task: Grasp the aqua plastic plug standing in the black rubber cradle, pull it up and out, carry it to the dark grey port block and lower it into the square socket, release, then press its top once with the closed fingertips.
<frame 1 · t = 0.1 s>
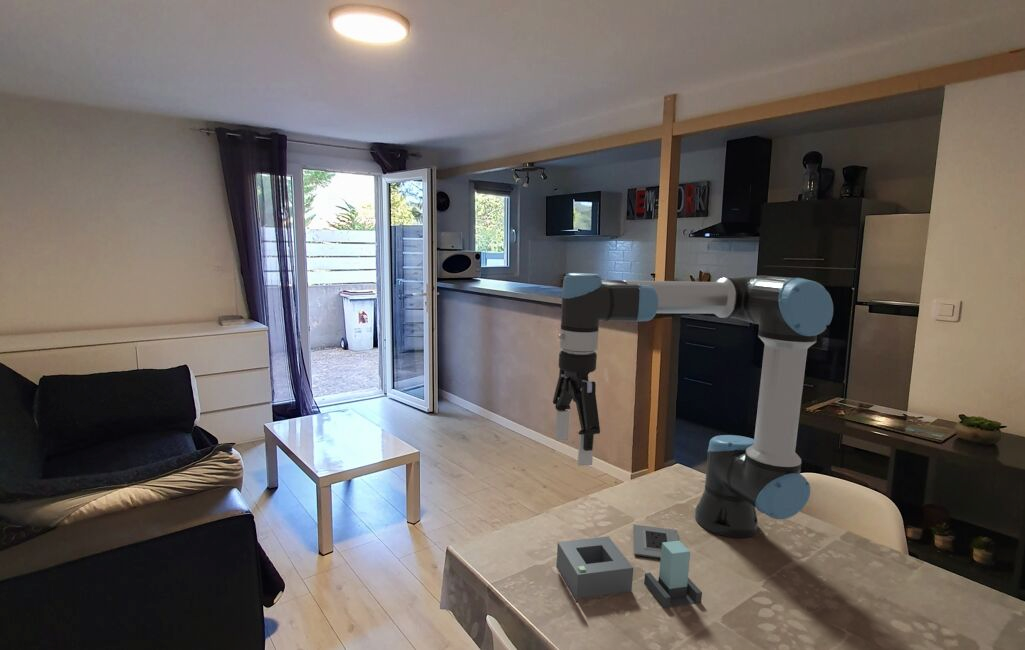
hand: (572, 451, 111), 28 cm above the table, fingers open, 13 cm apart
port block: (592, 580, 114), on the table
electrical outlet: (655, 549, 127), on the table
holster: (671, 596, 109), on the table
plug: (671, 592, 109), point 1 cm above the table, touching holster
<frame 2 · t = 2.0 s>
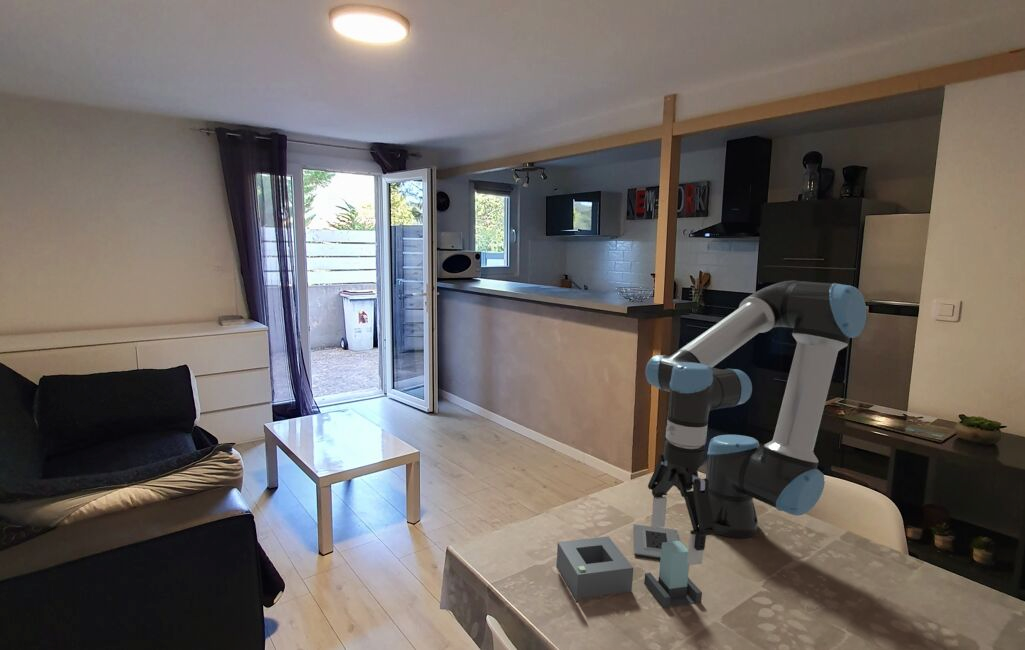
hand: (674, 544, 107), 12 cm above the table, fingers open, 13 cm apart
nothing on the table moved.
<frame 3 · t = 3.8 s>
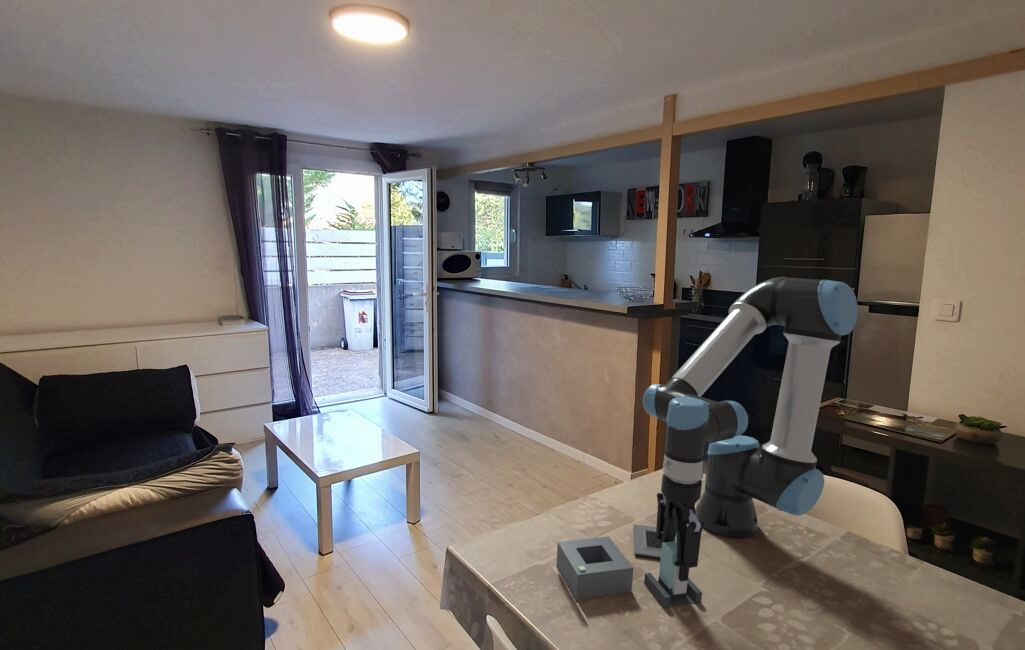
hand: (672, 584, 109), 2 cm above the table, fingers closed on plug, 4 cm apart
plug: (672, 592, 109), point 1 cm above the table, touching gripper, holster
everything else where it was.
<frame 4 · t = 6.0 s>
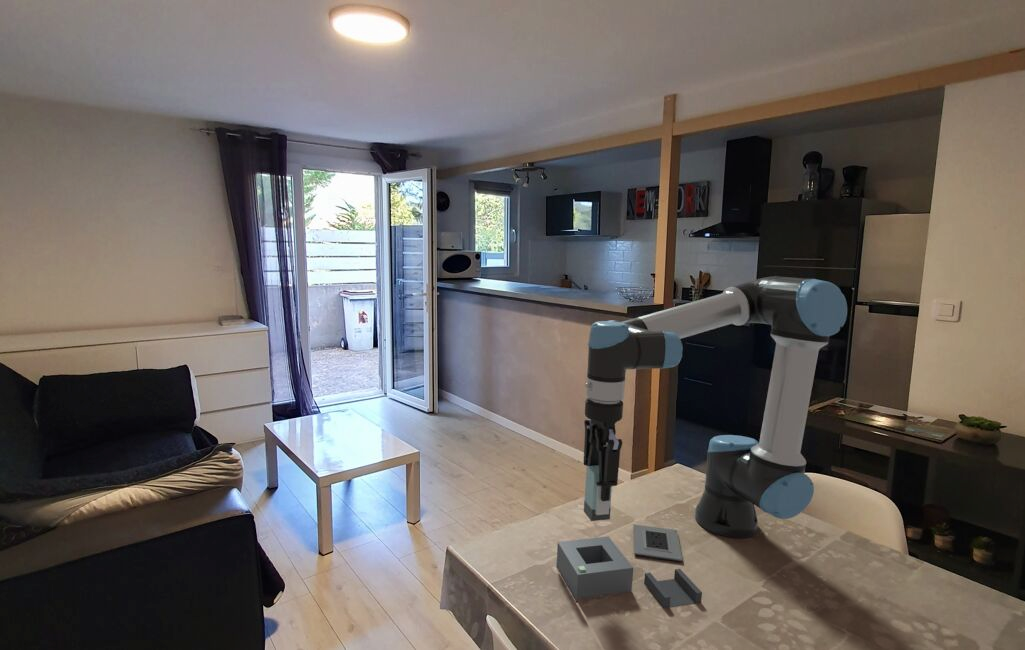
hand: (597, 507, 111), 16 cm above the table, fingers closed on plug, 4 cm apart
plug: (596, 515, 111), point 15 cm above the table, touching gripper
everything else where it was.
when the fingers open (7 cm above the table, at t = 8.2 s): plug drops 5 cm, resting on port block.
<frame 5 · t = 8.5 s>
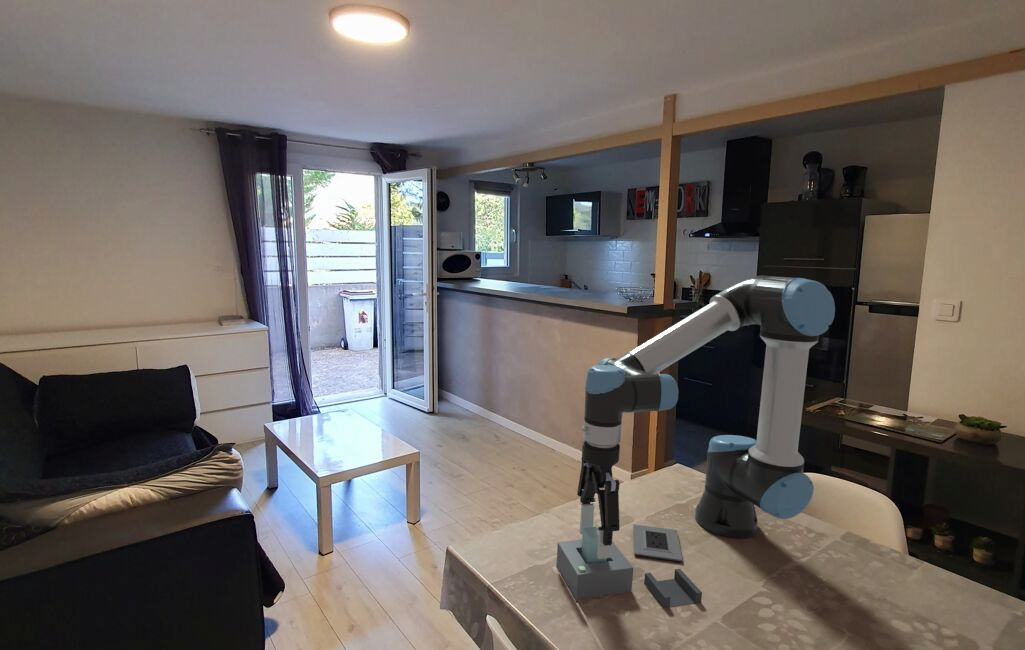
hand: (594, 544, 112), 8 cm above the table, fingers open, 9 cm apart
plug: (592, 576, 113), point 1 cm above the table, touching port block
everything else where it was.
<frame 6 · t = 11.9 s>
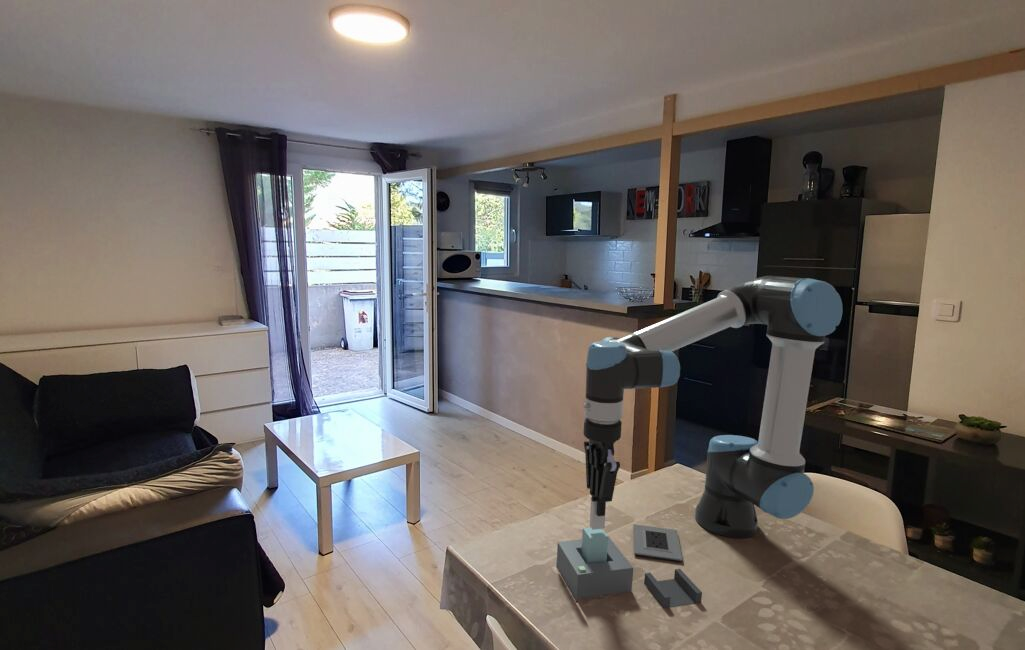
hand: (597, 527, 112), 12 cm above the table, fingers closed
nothing on the table moved.
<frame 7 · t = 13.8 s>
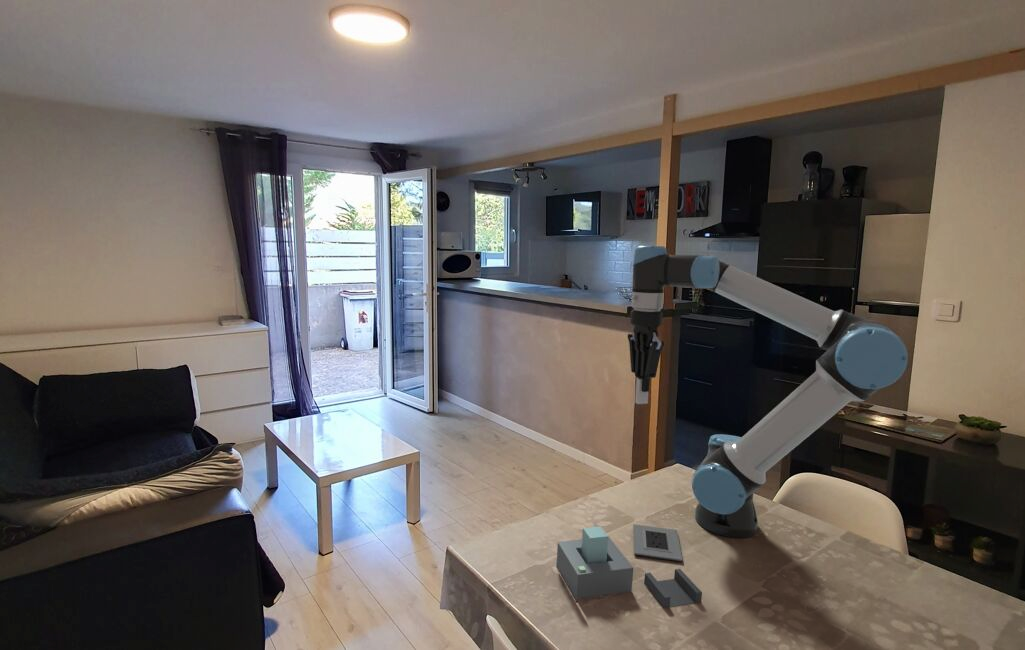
hand: (641, 403, 134), 32 cm above the table, fingers closed
nothing on the table moved.
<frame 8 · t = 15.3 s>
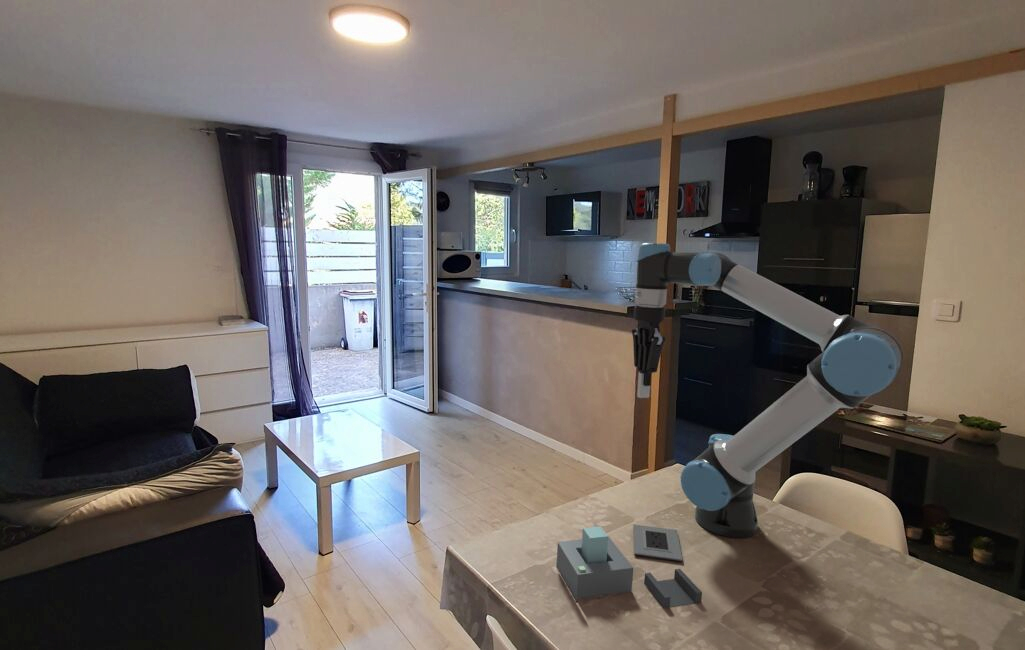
hand: (643, 396, 137), 32 cm above the table, fingers closed
nothing on the table moved.
at the end: plug 0.0 cm off-centre on the port block, point 1.0 cm above the port block's base; plug tilted 0°; the gripper is holding nothing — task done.
